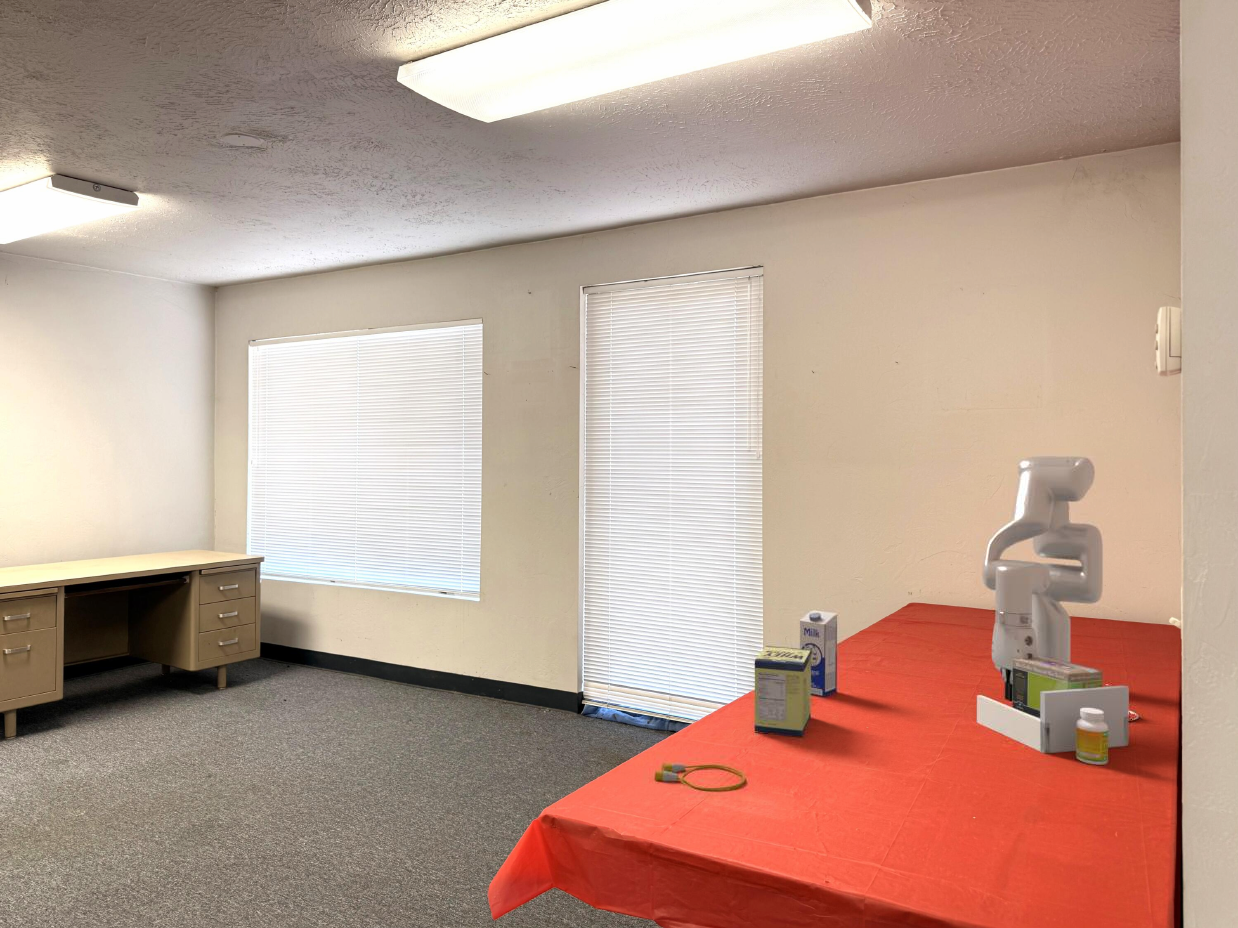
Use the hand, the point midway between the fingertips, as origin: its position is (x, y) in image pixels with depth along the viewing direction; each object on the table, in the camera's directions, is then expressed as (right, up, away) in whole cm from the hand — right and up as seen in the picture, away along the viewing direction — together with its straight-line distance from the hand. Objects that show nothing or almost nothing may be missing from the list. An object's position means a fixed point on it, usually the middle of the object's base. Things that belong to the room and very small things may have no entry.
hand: (1013, 699), depth 186 cm
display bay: (+3, -4, -10) cm, 11 cm away
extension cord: (-74, -4, -36) cm, 83 cm away
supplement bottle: (+3, -4, -27) cm, 27 cm away
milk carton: (-39, -4, +21) cm, 45 cm away
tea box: (+5, -4, -10) cm, 12 cm away
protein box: (-53, -4, -6) cm, 54 cm away
